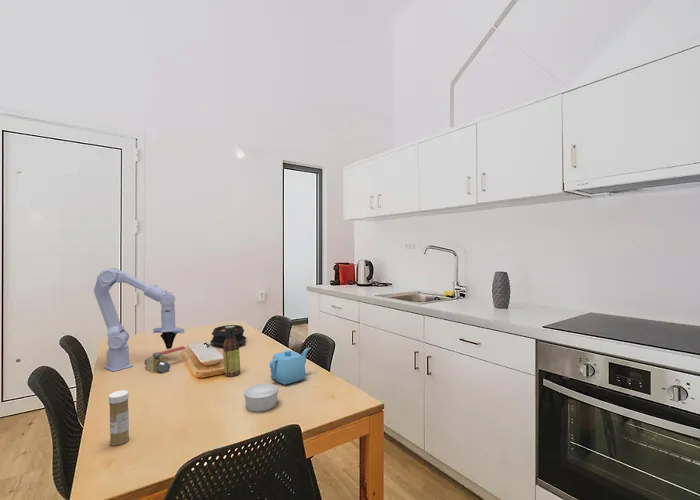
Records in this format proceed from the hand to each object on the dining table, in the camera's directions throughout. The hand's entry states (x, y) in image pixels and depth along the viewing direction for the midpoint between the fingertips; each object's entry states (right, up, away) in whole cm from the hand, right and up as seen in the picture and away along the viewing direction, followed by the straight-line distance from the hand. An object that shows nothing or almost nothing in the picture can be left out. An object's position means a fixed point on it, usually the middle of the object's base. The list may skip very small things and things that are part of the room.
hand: (169, 348), depth 162 cm
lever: (+3, 0, -6) cm, 7 cm away
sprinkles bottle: (+21, -7, -66) cm, 70 cm away
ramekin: (+54, -6, -46) cm, 72 cm away
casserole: (+18, -6, +29) cm, 34 cm away
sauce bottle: (+35, -6, -18) cm, 40 cm away
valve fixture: (0, -6, -10) cm, 12 cm away
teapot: (+61, -6, -23) cm, 65 cm away
